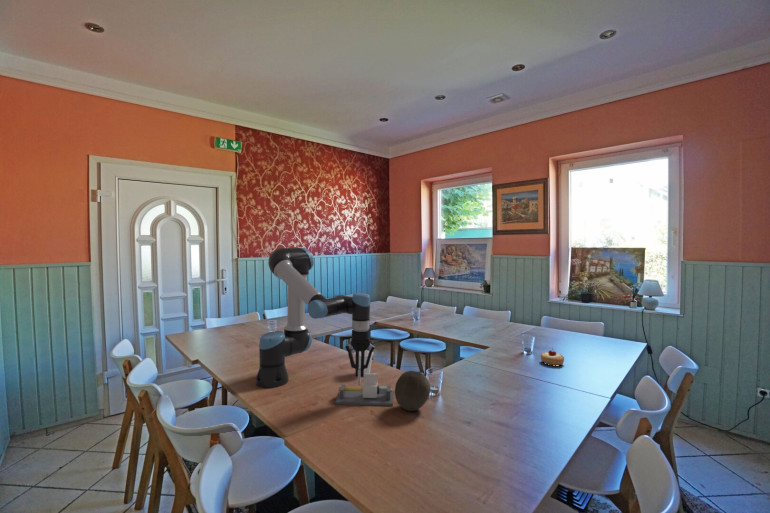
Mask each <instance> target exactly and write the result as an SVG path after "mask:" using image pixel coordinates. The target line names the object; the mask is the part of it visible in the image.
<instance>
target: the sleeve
mask: <svg viewBox="0 0 770 513" xmlns="http://www.w3.org/2000/svg"><path fill="white" fill-rule="evenodd" d="M377 386H379V383H378V373H371V372H370V373H364V376H363V384H362V388H363V398H377V395H378V394H377Z"/></svg>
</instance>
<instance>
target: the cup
mask: <svg viewBox="0 0 770 513" xmlns="http://www.w3.org/2000/svg"><path fill="white" fill-rule="evenodd" d="M369 351H370V350H368V349H366V350H365V356H364V365H365V364H366V361H367V358H368V354H369ZM353 353H354V358H355V359H354V360H356V354H355V352H353ZM373 356H374V351H373V352H372V354H371V357H370V361H369V364H368V368H365V369H364V373H371V368H372V361H373ZM359 368H361V351H359ZM363 377H364V375H363Z"/></svg>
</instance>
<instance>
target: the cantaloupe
mask: <svg viewBox="0 0 770 513" xmlns="http://www.w3.org/2000/svg"><path fill="white" fill-rule="evenodd" d="M430 394H431V384H430V381H429V380H428V378H427V377H426V375H424V374H423V373H422V372H419V371H416V370H408V371H404V372H403V373H401V375H400V376H399V377H398V378H397V381H396V383H395V387H394V396H395V399H396V401H397V404H398V405H399V406H400V407H401V408H402V409H403V410H405V411H407V412H414V411H417V410H420V408H423V406H424V405H425V404H426V403H427V401H428V399H429V397H430Z"/></svg>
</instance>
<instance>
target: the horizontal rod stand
mask: <svg viewBox="0 0 770 513" xmlns="http://www.w3.org/2000/svg"><path fill="white" fill-rule="evenodd" d="M338 391H339V393H338V394H337V397H336V401H335V403H334V404H335V405H350V406H351V405H353V406H380V407H381V406H383V407H385V406H387V407H393V406H394V396H395V390H394V391H393V388H392V386H391V385H378V386H377V394H378V395H377V398H363V387H349V386H348V387H346V384H341V386H340V387H338Z"/></svg>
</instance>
